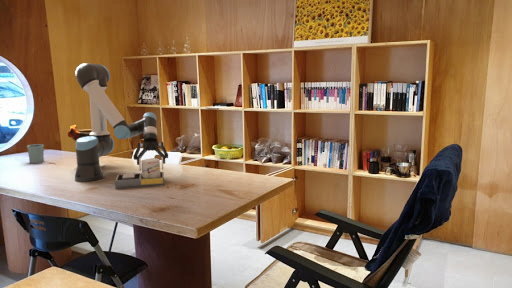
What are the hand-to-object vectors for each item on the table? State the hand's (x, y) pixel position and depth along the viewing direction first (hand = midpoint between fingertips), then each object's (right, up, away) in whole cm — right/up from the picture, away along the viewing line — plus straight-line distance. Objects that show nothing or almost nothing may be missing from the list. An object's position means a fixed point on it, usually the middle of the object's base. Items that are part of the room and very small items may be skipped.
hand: (151, 168), depth 209 cm
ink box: (-1, -7, +3) cm, 8 cm away
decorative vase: (-52, -2, +46) cm, 70 cm away
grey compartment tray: (-6, -8, +2) cm, 10 cm away
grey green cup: (-96, 0, +62) cm, 114 cm away
